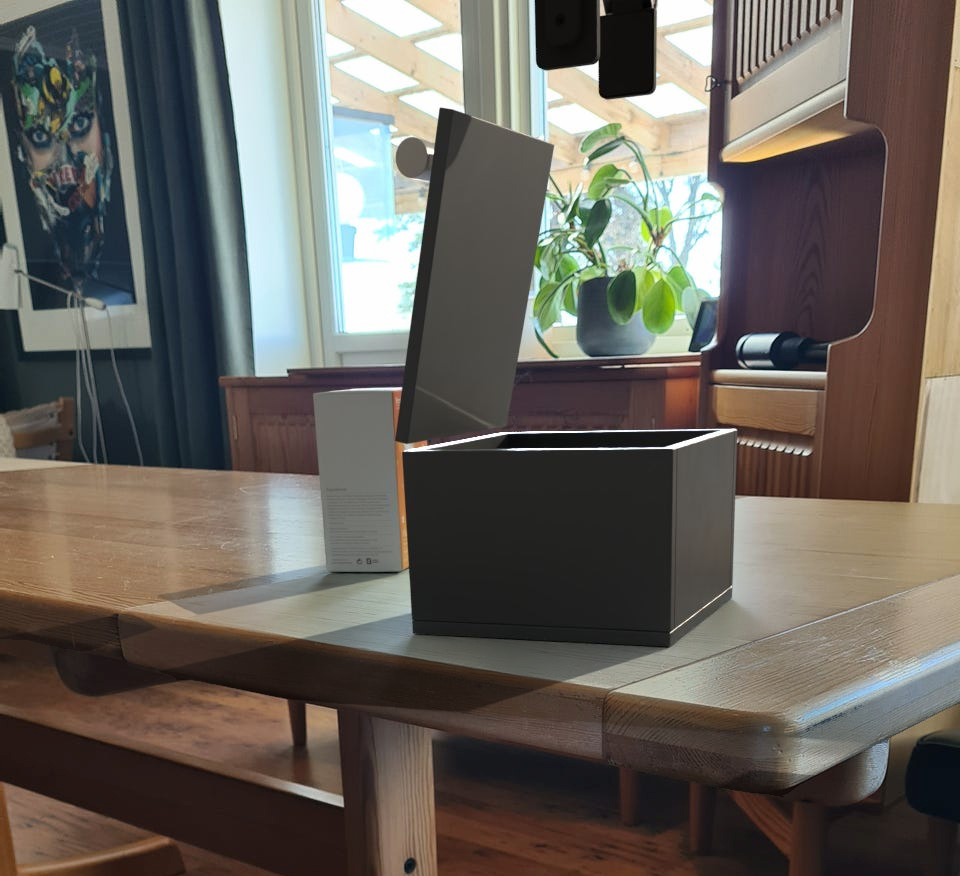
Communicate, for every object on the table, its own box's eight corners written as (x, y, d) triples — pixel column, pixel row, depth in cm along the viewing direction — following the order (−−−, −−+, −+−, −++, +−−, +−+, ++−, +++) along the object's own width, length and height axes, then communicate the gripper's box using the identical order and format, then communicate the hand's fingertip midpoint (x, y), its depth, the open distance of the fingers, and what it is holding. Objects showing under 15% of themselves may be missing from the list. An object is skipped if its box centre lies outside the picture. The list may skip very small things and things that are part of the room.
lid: (555, 144, 76) (473, 130, 78) (453, 109, 64) (359, 93, 66) (506, 426, 84) (433, 408, 85) (407, 444, 71) (323, 423, 73)
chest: (732, 598, 82) (737, 428, 78) (670, 647, 69) (673, 448, 66) (506, 590, 88) (501, 432, 84) (412, 634, 75) (401, 451, 72)
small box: (403, 573, 96) (392, 389, 91) (324, 573, 98) (309, 391, 93) (435, 556, 103) (426, 385, 99) (361, 556, 105) (349, 387, 100)
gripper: (616, -441, 53) (617, 42, 59) (718, -275, 67) (709, 98, 74) (451, -394, 55) (468, 63, 62) (582, -244, 70) (585, 113, 76)
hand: (599, 82), depth 68 cm, fingers open, 9 cm apart
